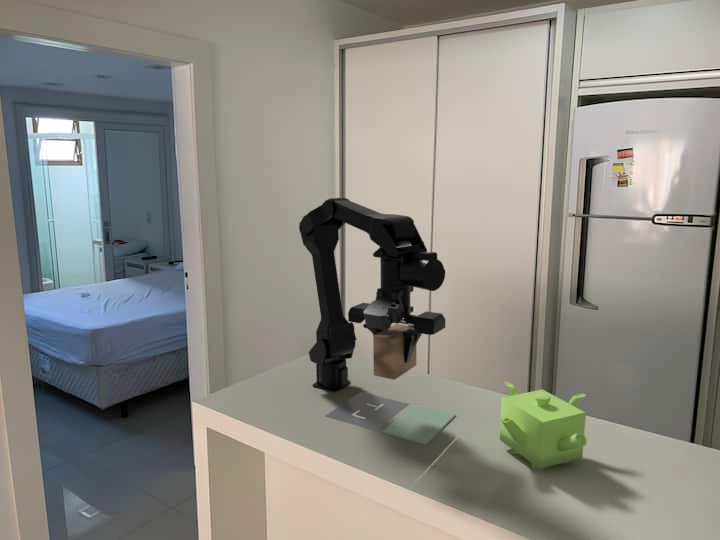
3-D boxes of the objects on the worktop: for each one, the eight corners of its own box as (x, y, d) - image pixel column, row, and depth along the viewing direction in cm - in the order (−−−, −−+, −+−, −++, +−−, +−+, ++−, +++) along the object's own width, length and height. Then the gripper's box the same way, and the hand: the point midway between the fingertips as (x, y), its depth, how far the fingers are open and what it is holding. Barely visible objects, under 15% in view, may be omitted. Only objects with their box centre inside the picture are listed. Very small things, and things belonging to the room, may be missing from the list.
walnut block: (373, 375, 109) (373, 335, 107) (396, 361, 116) (396, 323, 115) (394, 379, 106) (394, 339, 105) (416, 365, 114) (416, 327, 112)
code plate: (324, 416, 114) (324, 415, 114) (361, 392, 126) (361, 391, 126) (375, 431, 108) (375, 430, 108) (409, 404, 119) (409, 403, 119)
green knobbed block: (502, 430, 108) (505, 374, 106) (581, 442, 104) (585, 384, 101) (492, 470, 94) (495, 407, 92) (583, 486, 90) (589, 420, 87)
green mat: (382, 433, 107) (382, 431, 107) (415, 406, 119) (415, 404, 118) (425, 446, 102) (425, 443, 102) (455, 416, 114) (455, 414, 114)
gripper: (331, 285, 106) (333, 364, 109) (420, 296, 96) (420, 382, 99) (362, 275, 115) (363, 348, 118) (447, 284, 105) (446, 363, 108)
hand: (395, 360), depth 111 cm, fingers closed on walnut block, 5 cm apart
